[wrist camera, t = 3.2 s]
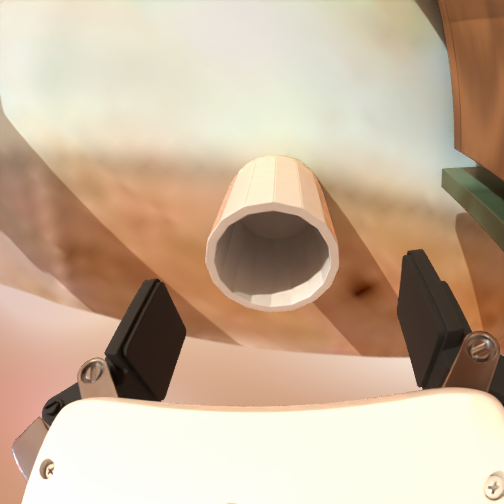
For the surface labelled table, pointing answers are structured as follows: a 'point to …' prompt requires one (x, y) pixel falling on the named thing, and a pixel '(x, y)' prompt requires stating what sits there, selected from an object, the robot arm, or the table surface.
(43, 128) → the table surface
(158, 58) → the table surface
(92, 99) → the table surface
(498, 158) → the drawer
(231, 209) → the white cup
